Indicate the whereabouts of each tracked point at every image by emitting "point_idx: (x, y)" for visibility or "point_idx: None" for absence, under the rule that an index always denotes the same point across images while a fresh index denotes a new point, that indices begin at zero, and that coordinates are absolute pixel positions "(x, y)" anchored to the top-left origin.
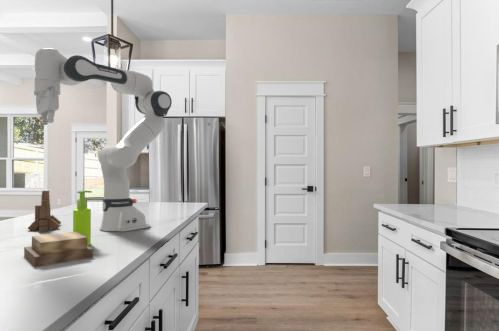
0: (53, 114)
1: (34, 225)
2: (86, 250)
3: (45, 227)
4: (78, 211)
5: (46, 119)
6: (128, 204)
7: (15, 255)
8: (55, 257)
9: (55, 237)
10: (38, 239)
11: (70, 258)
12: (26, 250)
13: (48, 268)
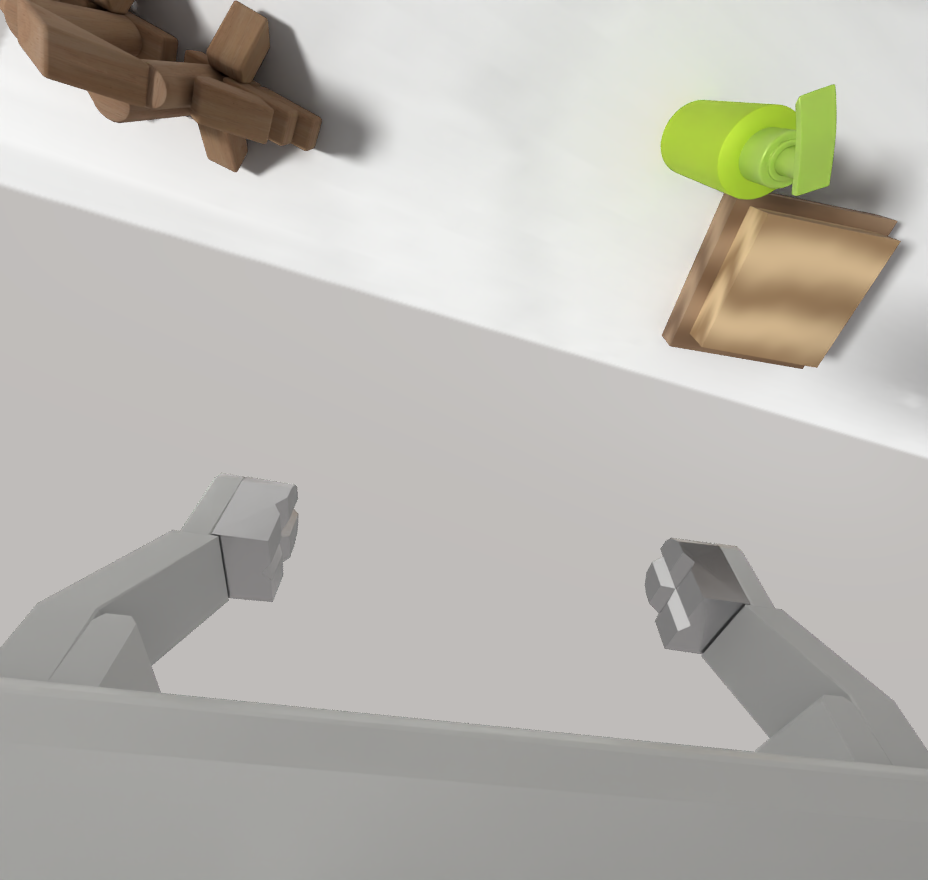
0: (852, 687)
1: (237, 146)
2: None
3: (314, 124)
4: (772, 188)
5: (190, 567)
6: None
7: (632, 346)
8: None
9: (792, 310)
10: (768, 354)
11: None
12: (699, 350)
13: (835, 344)
